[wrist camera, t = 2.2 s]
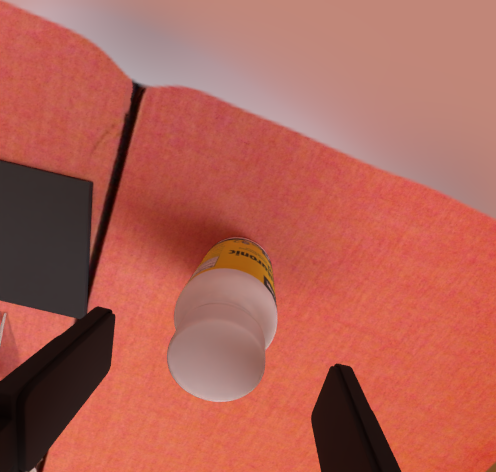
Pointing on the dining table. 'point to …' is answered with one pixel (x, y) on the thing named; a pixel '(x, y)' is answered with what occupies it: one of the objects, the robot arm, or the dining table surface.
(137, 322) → the dining table surface
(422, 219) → the dining table surface
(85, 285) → the mat
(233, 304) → the supplement bottle
